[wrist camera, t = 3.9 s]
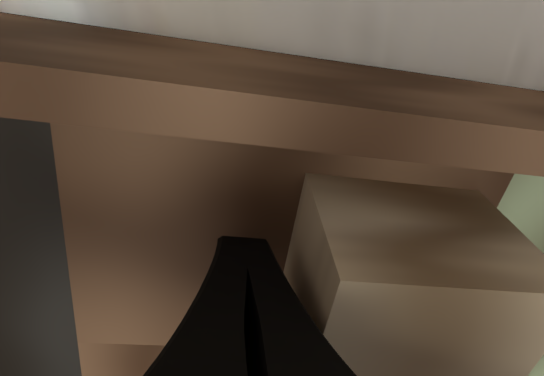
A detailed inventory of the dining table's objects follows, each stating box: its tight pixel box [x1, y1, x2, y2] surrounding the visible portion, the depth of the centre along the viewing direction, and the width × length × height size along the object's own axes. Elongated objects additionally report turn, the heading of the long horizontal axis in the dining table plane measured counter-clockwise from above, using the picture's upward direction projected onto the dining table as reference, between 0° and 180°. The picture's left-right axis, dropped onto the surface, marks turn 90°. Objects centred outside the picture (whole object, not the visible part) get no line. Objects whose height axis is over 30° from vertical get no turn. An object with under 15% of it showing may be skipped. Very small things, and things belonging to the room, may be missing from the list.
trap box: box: [0, 12, 544, 376], centre depth 14 cm, size 26×17×4 cm, turn 81°
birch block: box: [283, 173, 544, 376], centre depth 10 cm, size 5×5×4 cm
